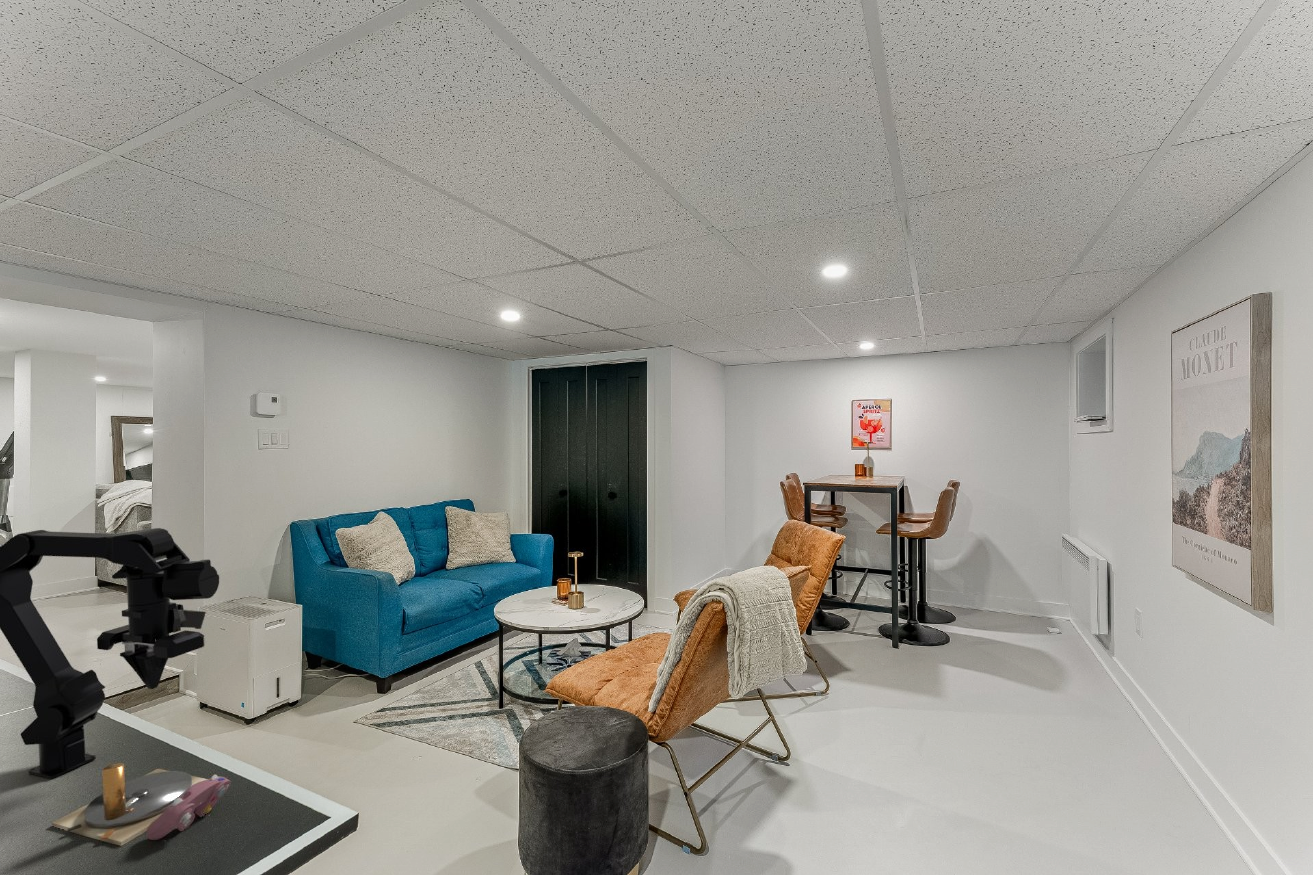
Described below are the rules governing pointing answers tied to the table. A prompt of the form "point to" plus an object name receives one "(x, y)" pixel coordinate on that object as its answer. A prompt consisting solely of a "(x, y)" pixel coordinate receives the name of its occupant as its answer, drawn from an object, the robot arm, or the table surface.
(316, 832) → the table surface
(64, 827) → the panel
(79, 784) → the table surface
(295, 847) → the table surface
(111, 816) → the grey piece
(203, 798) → the video game controller
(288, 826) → the table surface
